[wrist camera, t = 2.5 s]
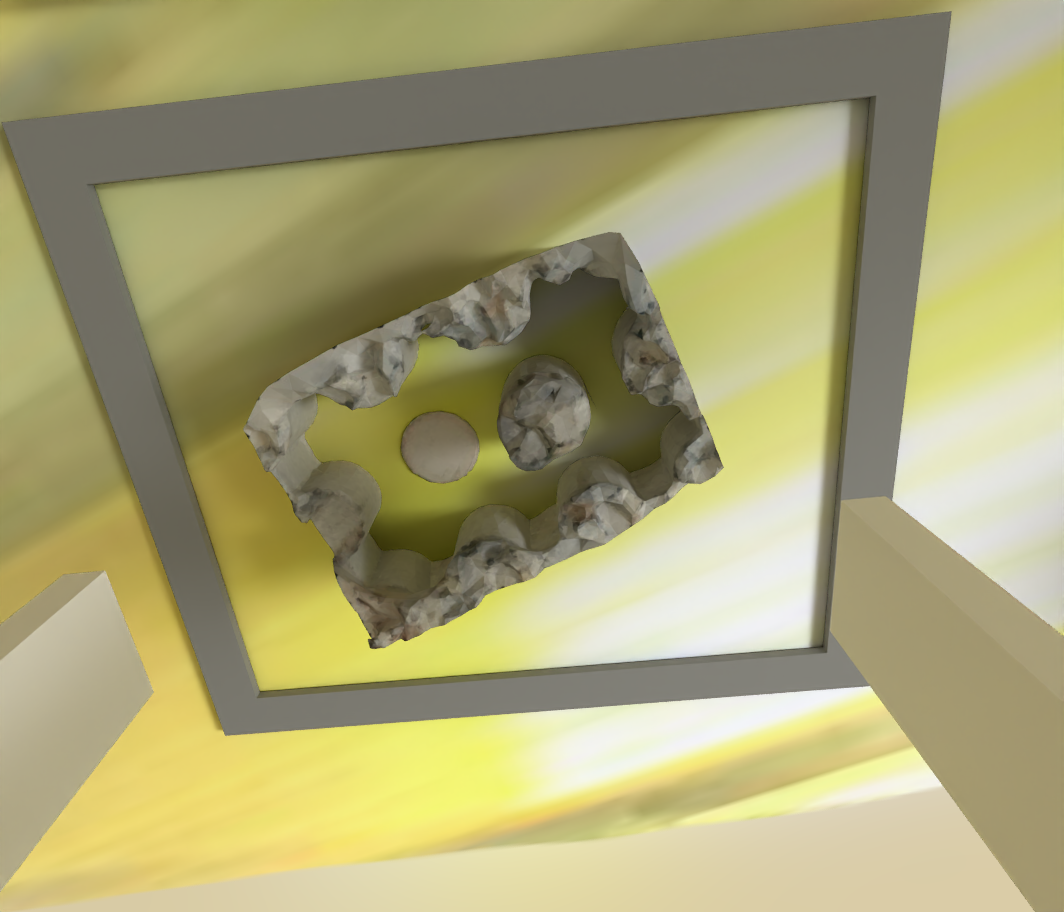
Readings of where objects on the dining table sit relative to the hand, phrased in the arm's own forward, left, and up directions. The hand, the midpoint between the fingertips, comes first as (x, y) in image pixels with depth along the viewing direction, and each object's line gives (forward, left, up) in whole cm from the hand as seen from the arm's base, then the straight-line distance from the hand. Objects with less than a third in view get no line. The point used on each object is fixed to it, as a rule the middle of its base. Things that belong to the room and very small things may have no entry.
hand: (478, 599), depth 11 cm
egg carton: (0, -1, -8) cm, 8 cm away
